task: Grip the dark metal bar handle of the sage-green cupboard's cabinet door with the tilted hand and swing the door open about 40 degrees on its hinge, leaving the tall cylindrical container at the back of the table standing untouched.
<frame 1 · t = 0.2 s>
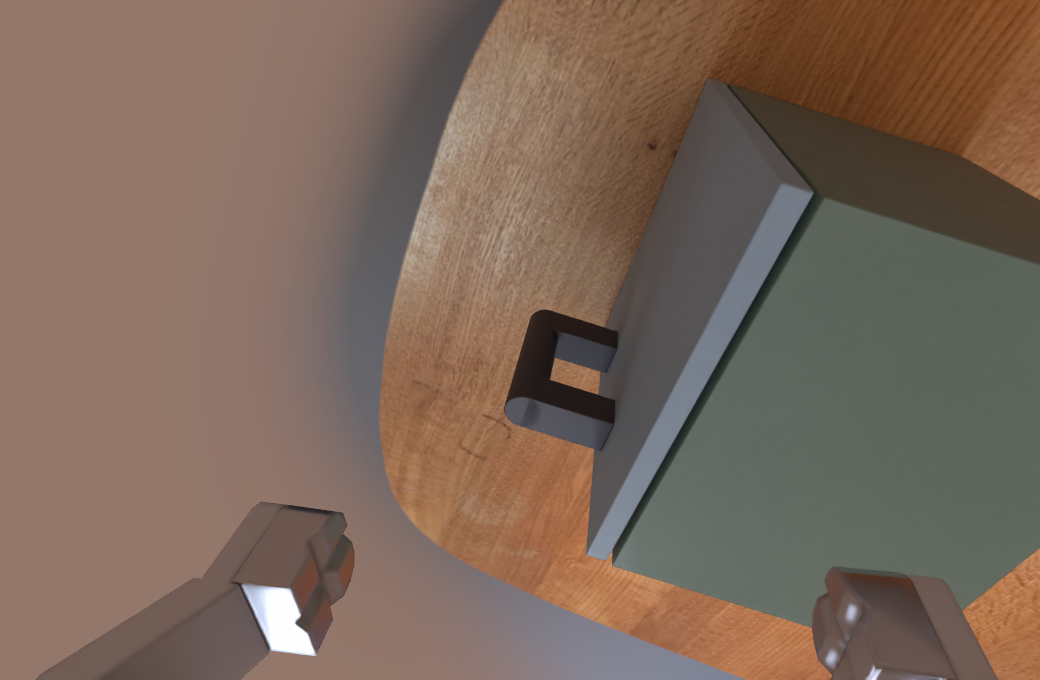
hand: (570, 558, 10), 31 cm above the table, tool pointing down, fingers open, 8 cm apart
cabinet door: (611, 277, 30), point 10 cm above the table, hinge at 0.0°
cupboard: (768, 257, 38), on the table
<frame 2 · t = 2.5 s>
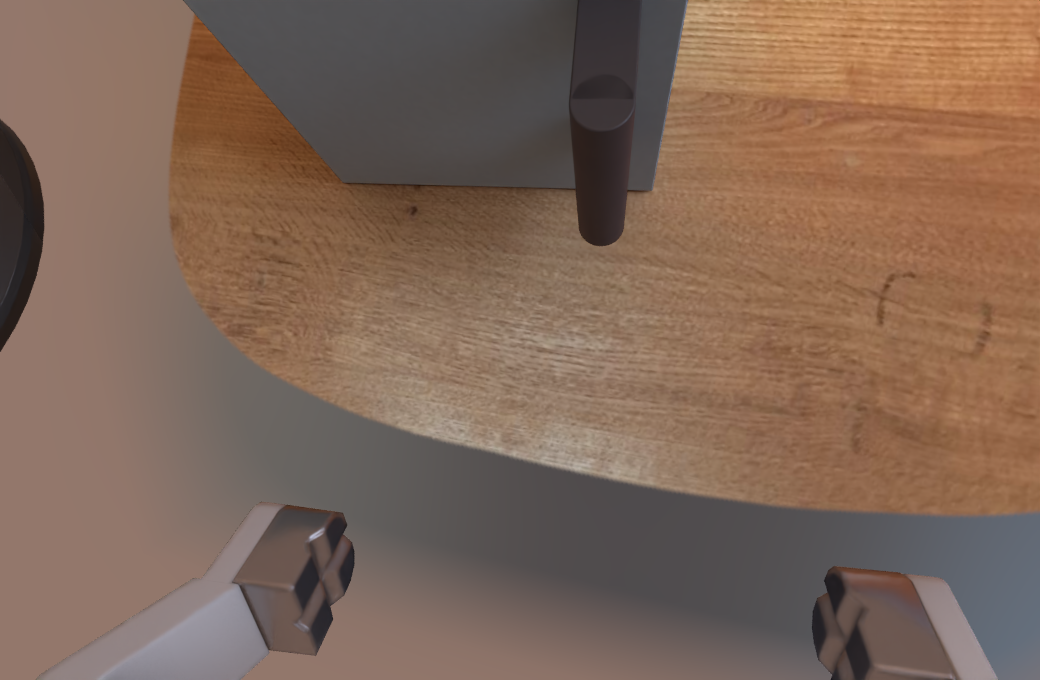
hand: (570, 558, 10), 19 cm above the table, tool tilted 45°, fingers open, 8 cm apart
cabinet door: (440, 120, 23), point 10 cm above the table, hinge at 0.0°
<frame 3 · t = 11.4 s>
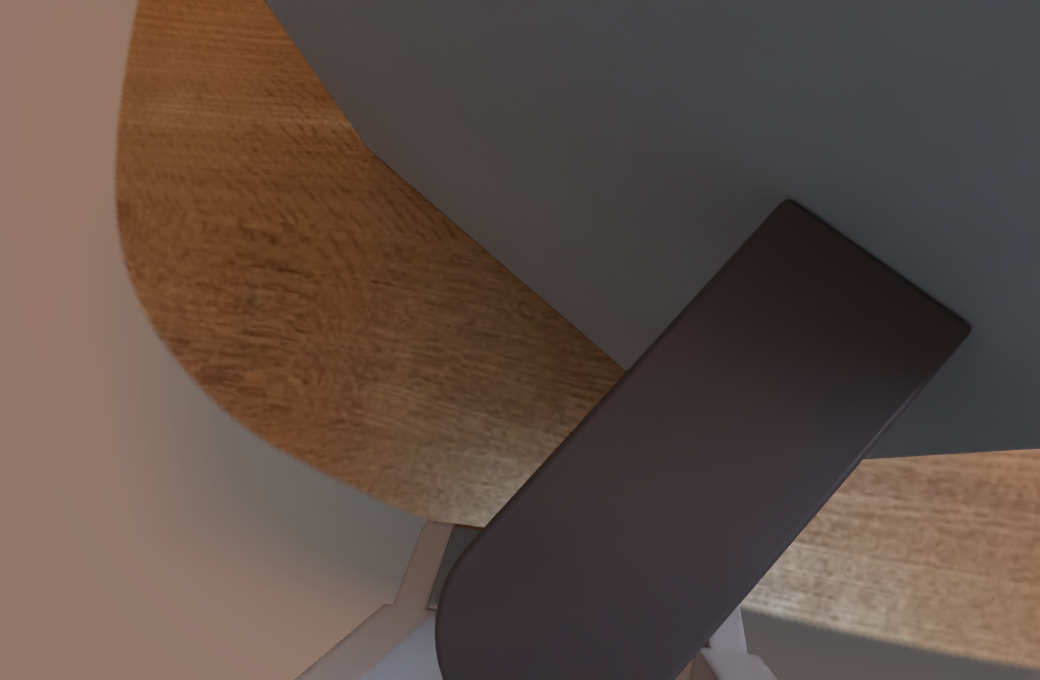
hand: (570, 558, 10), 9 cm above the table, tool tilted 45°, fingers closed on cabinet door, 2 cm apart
cabinet door: (396, 218, 11), point 10 cm above the table, hinge at 38.3°, touching gripper
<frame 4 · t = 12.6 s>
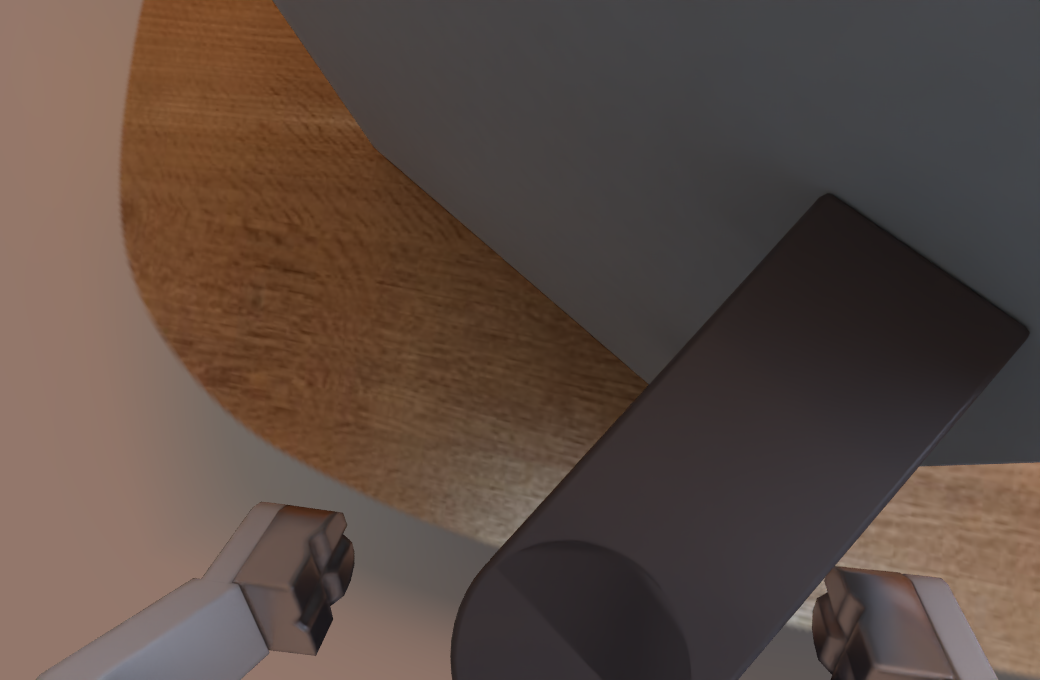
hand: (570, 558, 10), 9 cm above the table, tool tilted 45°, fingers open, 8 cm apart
cabinet door: (405, 216, 11), point 10 cm above the table, hinge at 38.2°
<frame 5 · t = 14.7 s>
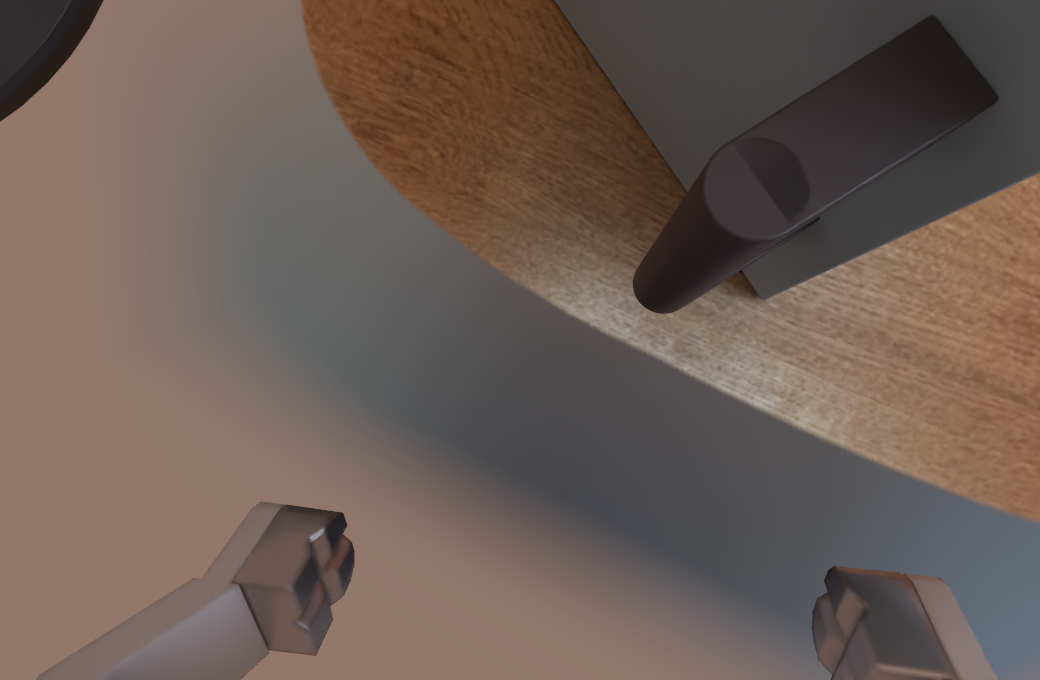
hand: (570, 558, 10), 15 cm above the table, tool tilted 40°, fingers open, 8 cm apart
cabinet door: (630, 7, 16), point 10 cm above the table, hinge at 38.2°
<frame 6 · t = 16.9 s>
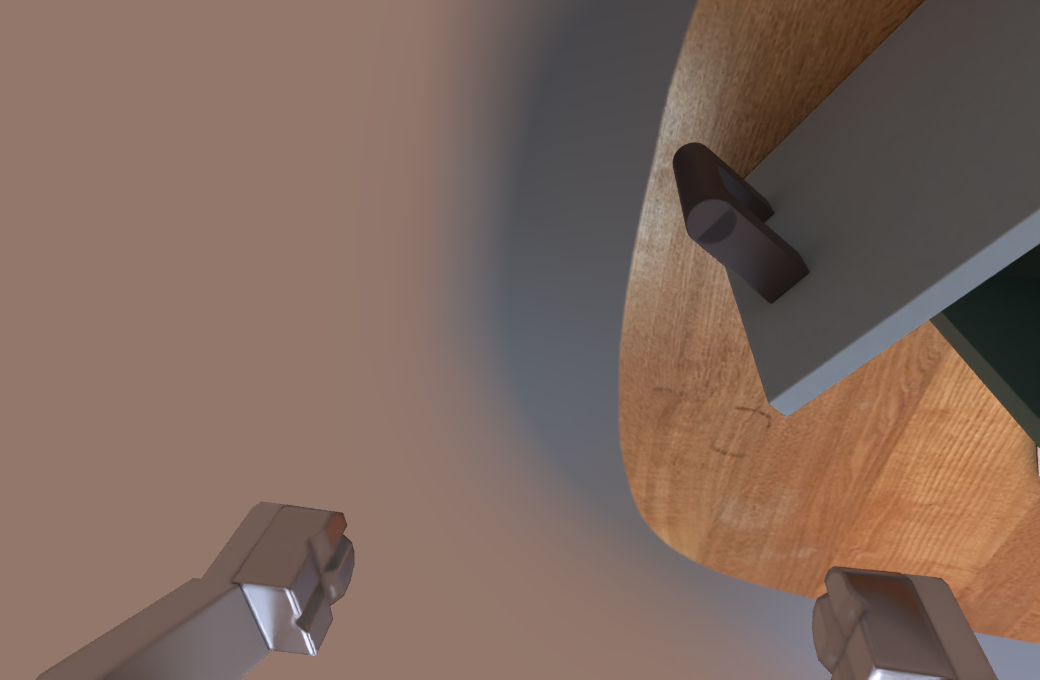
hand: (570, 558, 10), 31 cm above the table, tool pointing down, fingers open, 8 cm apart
cabinet door: (856, 101, 24), point 10 cm above the table, hinge at 38.2°
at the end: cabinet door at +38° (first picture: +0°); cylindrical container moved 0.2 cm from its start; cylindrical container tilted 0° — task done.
